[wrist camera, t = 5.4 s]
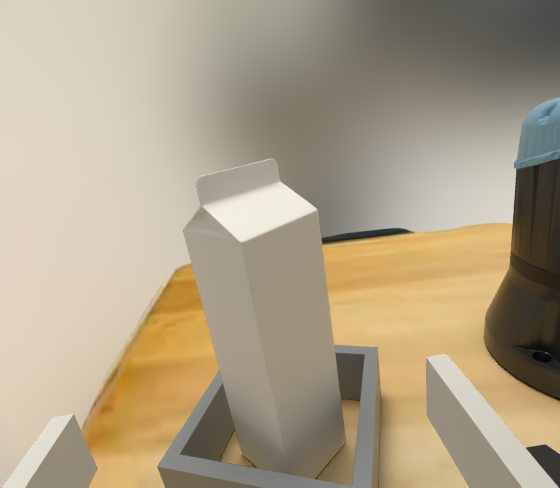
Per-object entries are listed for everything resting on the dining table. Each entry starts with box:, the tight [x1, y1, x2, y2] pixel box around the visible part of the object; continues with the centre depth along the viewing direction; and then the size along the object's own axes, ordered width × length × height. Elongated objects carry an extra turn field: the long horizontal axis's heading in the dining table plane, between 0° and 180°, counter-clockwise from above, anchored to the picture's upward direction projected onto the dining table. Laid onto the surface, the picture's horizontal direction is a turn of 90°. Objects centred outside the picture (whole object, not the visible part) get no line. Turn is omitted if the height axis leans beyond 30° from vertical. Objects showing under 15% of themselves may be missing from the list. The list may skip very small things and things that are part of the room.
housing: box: [157, 345, 381, 488], centre depth 26 cm, size 13×13×5 cm
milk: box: [183, 159, 346, 479], centre depth 23 cm, size 6×6×22 cm
